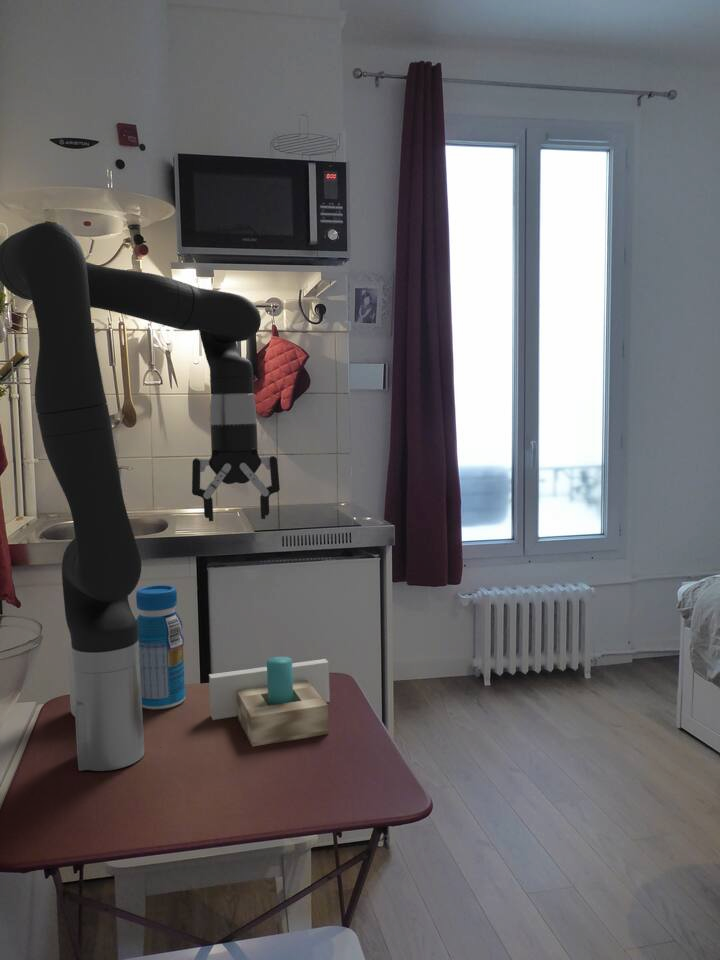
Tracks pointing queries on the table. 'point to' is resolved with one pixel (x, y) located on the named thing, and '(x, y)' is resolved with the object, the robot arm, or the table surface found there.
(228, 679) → the backstop wall
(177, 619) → the beverage bottle
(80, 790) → the table surface
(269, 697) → the teal rounded cylinder
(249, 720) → the socket block
